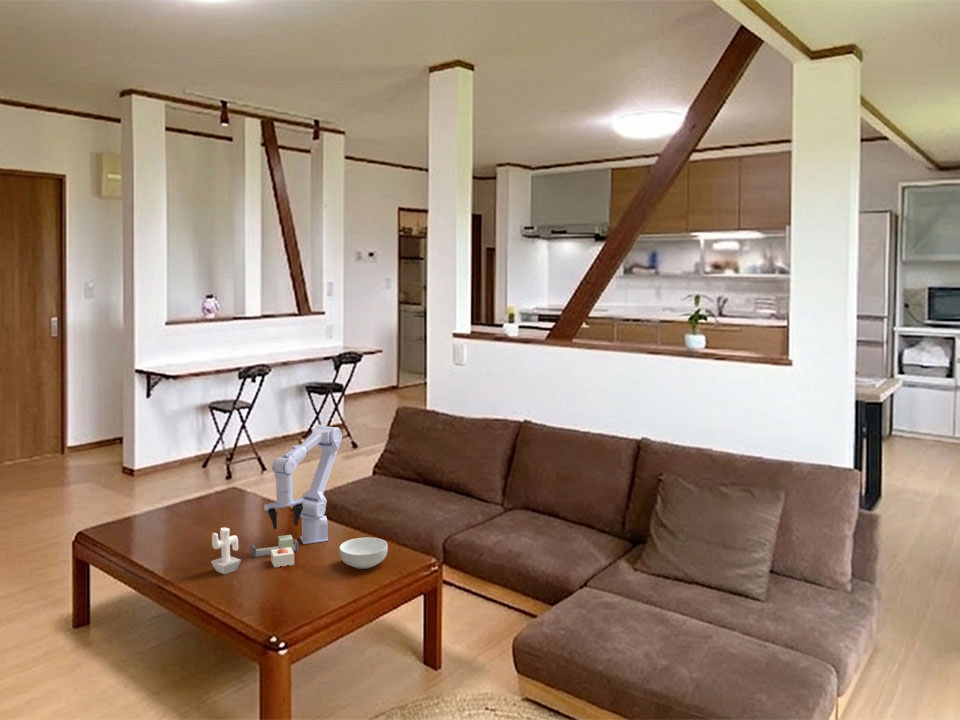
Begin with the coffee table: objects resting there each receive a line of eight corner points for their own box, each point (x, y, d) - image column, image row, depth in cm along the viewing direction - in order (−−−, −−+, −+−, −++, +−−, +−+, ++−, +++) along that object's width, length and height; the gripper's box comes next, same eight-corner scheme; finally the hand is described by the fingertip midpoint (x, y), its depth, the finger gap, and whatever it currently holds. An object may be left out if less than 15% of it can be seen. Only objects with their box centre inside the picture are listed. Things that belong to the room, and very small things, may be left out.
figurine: (244, 569, 268) (243, 527, 266) (220, 577, 260) (219, 534, 258) (231, 564, 272) (230, 522, 270) (207, 572, 264) (206, 529, 263)
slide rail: (296, 548, 288) (296, 539, 288) (298, 551, 284) (298, 542, 284) (251, 554, 282) (251, 544, 281) (253, 558, 278) (253, 548, 278)
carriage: (291, 548, 288) (290, 534, 287) (293, 552, 283) (293, 538, 283) (278, 549, 286) (278, 536, 285) (280, 554, 281) (280, 540, 281)
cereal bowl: (341, 556, 280) (341, 537, 279) (388, 555, 282) (387, 536, 281) (338, 574, 263) (337, 554, 262) (387, 573, 265) (387, 553, 264)
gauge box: (291, 557, 278) (290, 547, 278) (294, 564, 272) (294, 553, 271) (271, 560, 276) (270, 549, 275) (273, 567, 269) (273, 556, 269)
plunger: (286, 559, 276) (285, 547, 275) (287, 562, 273) (287, 550, 273) (277, 560, 274) (277, 549, 274) (279, 563, 272) (278, 551, 271)
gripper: (300, 484, 289) (301, 520, 291) (261, 490, 282) (262, 526, 283) (306, 489, 283) (307, 525, 285) (266, 495, 276) (267, 532, 277)
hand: (285, 526), depth 284 cm, fingers open, 7 cm apart
